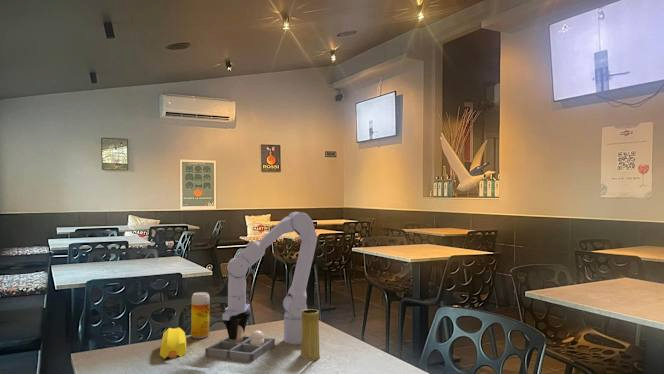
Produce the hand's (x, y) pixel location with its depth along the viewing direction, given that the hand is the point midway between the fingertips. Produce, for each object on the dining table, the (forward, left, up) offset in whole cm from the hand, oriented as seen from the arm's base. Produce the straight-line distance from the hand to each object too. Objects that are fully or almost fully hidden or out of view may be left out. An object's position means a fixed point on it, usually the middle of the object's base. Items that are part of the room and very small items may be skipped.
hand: (236, 337), depth 154 cm
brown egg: (0, 0, -2) cm, 2 cm away
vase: (-26, +1, -4) cm, 26 cm away
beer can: (+18, -7, -4) cm, 20 cm away
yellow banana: (+17, +9, -4) cm, 20 cm away
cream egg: (-7, 0, -3) cm, 8 cm away
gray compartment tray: (-4, +4, -4) cm, 6 cm away
